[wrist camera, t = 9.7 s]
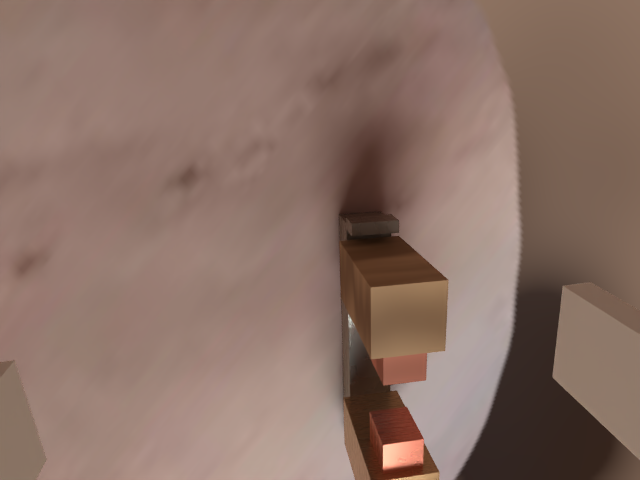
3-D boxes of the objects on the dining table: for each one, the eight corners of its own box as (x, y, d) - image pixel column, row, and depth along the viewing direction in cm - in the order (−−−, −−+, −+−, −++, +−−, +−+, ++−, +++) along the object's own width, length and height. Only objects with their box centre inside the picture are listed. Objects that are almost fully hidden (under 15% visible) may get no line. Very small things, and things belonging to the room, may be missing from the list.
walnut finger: (339, 240, 31) (370, 287, 23) (398, 236, 31) (448, 280, 24) (341, 324, 32) (371, 392, 25) (397, 318, 33) (443, 383, 25)
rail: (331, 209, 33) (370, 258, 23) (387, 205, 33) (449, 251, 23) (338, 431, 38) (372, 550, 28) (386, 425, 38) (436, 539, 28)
